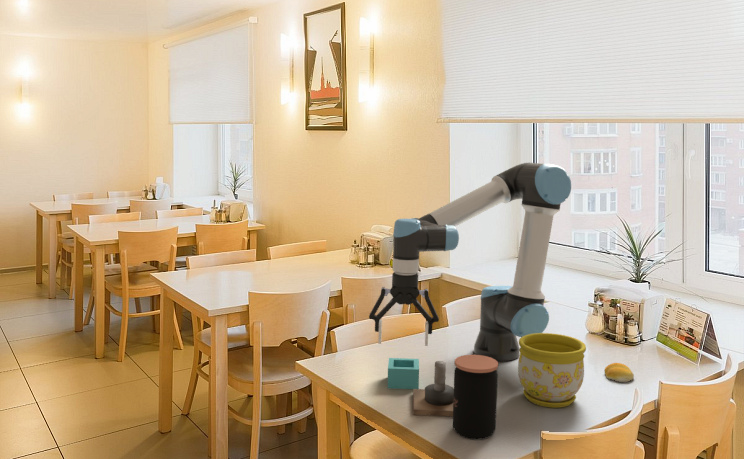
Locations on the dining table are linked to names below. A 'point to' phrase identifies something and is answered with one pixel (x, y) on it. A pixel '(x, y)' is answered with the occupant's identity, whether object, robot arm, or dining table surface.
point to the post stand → (435, 395)
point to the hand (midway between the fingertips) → (402, 343)
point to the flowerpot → (551, 368)
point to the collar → (403, 373)
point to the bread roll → (619, 372)
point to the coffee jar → (475, 396)
